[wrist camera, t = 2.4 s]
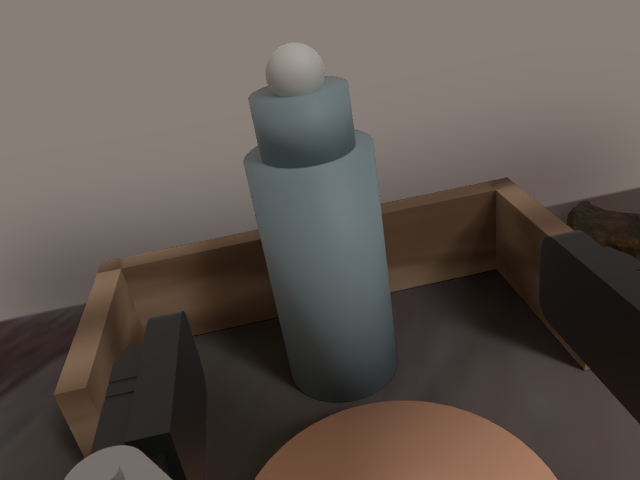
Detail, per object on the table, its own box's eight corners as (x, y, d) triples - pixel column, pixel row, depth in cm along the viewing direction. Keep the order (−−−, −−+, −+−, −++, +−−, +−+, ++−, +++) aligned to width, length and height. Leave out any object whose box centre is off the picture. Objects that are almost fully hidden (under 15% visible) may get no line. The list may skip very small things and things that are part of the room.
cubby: (130, 337, 33) (101, 262, 30) (506, 254, 34) (507, 177, 32) (98, 485, 24) (53, 394, 21) (610, 364, 25) (621, 267, 23)
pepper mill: (408, 335, 29) (378, 22, 22) (381, 410, 25) (333, 54, 18) (314, 325, 31) (258, 34, 24) (274, 393, 27) (192, 66, 20)
